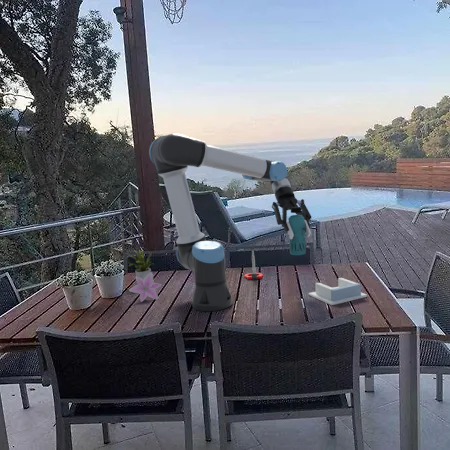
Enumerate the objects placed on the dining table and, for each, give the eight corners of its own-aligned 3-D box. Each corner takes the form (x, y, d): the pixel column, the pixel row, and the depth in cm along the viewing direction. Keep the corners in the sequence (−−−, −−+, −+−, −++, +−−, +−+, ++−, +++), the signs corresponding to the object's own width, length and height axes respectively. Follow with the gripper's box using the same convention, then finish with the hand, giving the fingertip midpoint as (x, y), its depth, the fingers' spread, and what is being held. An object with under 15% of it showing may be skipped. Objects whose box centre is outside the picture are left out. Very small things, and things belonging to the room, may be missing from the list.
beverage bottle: (289, 259, 169) (286, 208, 166) (290, 255, 176) (288, 206, 172) (306, 258, 168) (303, 207, 165) (306, 254, 174) (304, 205, 171)
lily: (126, 304, 175) (128, 286, 169) (135, 285, 185) (137, 268, 179) (155, 311, 175) (157, 294, 169) (162, 292, 185) (165, 275, 179)
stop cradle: (331, 305, 153) (331, 292, 152) (308, 295, 166) (308, 283, 165) (367, 296, 159) (366, 284, 159) (342, 287, 172) (342, 275, 171)
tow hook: (243, 275, 201) (245, 280, 192) (242, 248, 200) (243, 251, 191) (261, 274, 201) (264, 279, 192) (260, 247, 200) (262, 250, 191)
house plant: (120, 283, 202) (117, 249, 199) (146, 276, 211) (143, 244, 208) (136, 289, 191) (132, 253, 188) (162, 281, 200) (159, 247, 197)
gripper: (302, 195, 185) (321, 239, 172) (259, 199, 181) (275, 244, 167) (307, 183, 179) (326, 227, 166) (262, 187, 175) (279, 233, 162)
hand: (300, 236), depth 167 cm, fingers closed on beverage bottle, 6 cm apart
